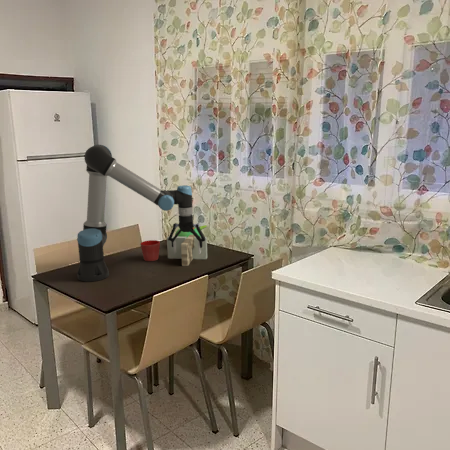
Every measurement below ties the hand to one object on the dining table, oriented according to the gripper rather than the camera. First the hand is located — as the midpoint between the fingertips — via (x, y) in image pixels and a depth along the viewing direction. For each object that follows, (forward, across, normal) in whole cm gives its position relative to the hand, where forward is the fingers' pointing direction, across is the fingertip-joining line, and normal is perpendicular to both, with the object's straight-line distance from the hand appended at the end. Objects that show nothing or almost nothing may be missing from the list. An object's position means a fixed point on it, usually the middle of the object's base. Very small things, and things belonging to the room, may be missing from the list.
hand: (187, 253), depth 247 cm
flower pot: (+5, -22, +4) cm, 23 cm away
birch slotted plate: (+5, 0, +4) cm, 7 cm away
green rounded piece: (+5, -5, +27) cm, 28 cm away
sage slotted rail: (+5, -2, +8) cm, 10 cm away
